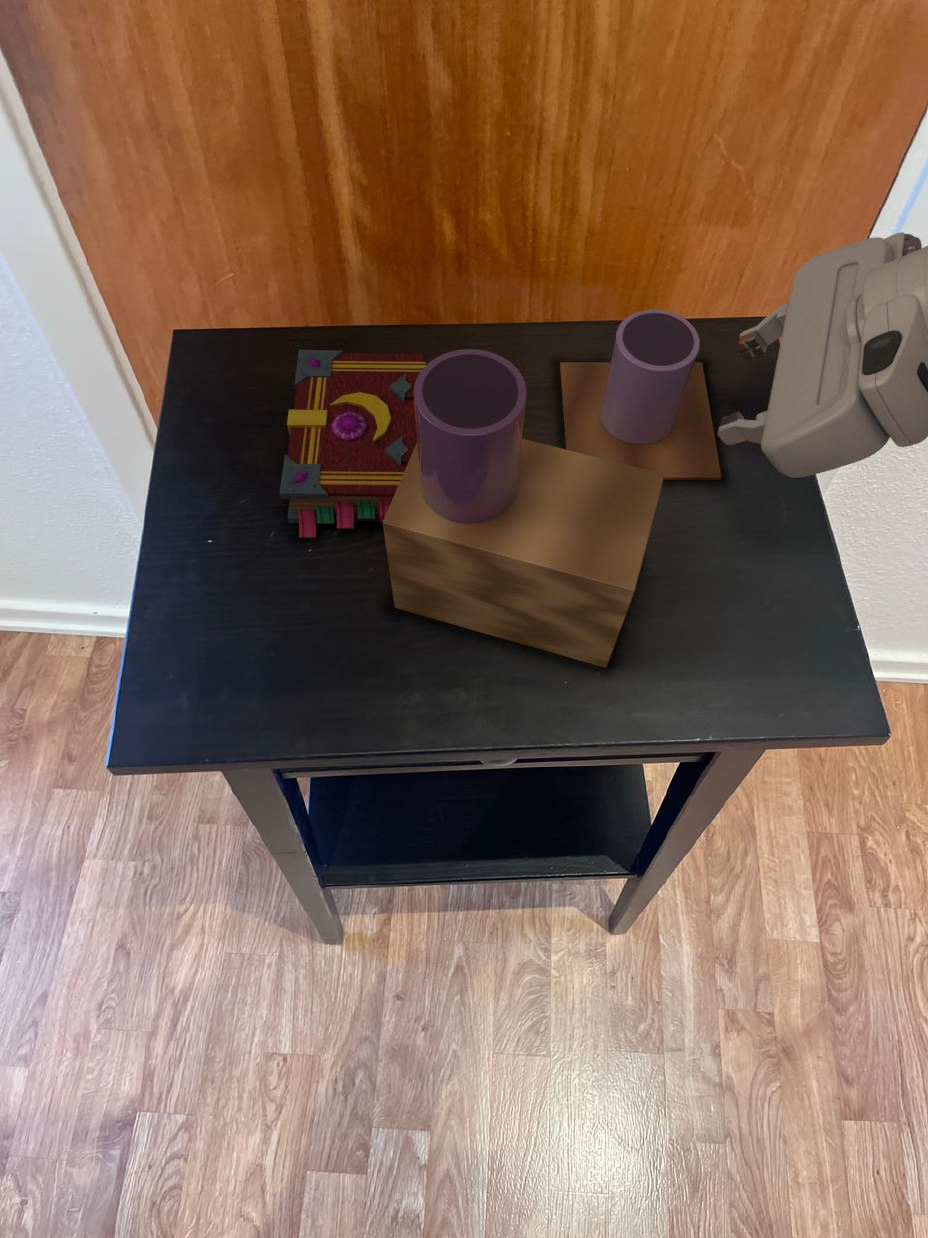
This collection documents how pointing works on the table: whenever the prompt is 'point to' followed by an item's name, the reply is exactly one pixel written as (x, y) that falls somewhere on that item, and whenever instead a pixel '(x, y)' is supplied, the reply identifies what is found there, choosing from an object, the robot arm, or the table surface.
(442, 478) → the plum cup
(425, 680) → the table surface
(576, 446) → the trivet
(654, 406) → the lavender cup
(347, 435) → the decorative book
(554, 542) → the block
